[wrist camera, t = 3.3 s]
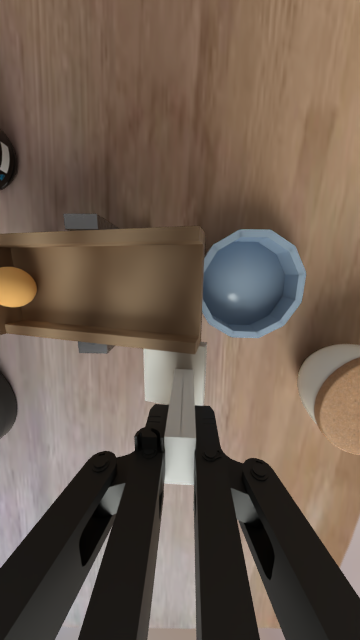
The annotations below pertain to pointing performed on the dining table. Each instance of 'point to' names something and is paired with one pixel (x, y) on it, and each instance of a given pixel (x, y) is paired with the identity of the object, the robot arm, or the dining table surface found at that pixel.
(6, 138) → the supplement container
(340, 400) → the lidded jar
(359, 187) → the dining table surface
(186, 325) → the lever
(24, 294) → the ball
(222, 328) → the bowl
